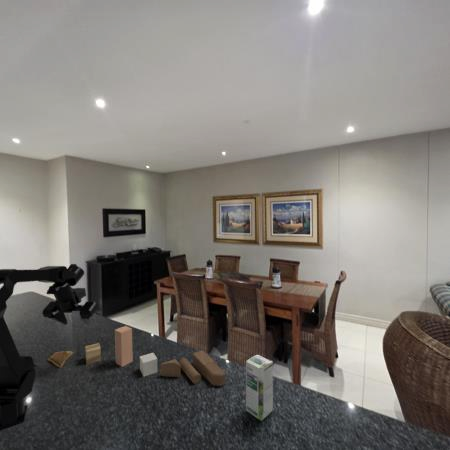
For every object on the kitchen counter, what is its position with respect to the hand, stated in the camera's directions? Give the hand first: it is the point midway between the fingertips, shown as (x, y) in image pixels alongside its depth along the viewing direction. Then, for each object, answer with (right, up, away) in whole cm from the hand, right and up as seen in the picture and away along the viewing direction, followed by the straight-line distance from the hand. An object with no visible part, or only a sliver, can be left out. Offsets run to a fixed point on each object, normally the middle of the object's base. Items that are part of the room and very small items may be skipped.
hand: (77, 324), depth 99 cm
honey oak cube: (+6, -14, 0) cm, 16 cm away
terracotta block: (+19, -14, -2) cm, 24 cm away
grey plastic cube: (+31, -14, -8) cm, 35 cm away
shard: (-6, -15, +1) cm, 16 cm away
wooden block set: (+48, -15, -13) cm, 51 cm away
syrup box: (+69, -14, -28) cm, 76 cm away
